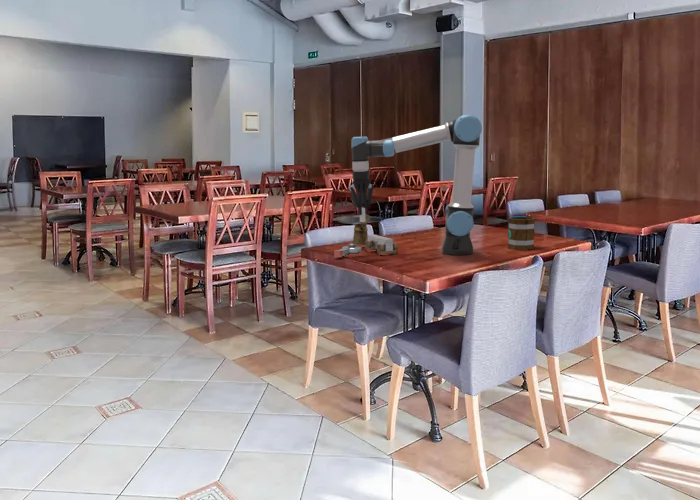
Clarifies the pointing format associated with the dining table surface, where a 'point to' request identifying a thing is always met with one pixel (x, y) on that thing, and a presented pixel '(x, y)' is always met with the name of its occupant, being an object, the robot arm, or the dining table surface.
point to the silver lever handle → (347, 250)
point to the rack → (381, 248)
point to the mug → (521, 233)
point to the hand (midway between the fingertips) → (362, 221)
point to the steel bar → (381, 242)
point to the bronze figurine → (361, 232)
